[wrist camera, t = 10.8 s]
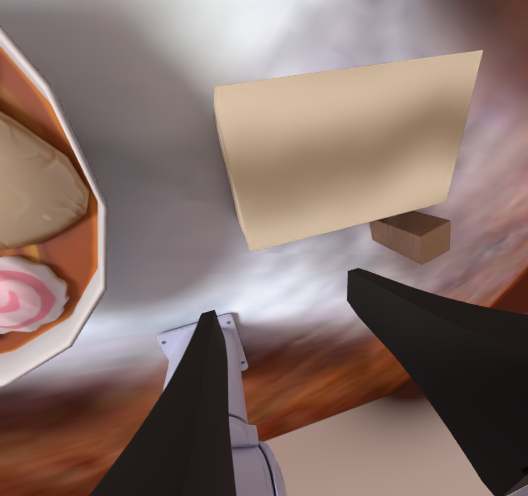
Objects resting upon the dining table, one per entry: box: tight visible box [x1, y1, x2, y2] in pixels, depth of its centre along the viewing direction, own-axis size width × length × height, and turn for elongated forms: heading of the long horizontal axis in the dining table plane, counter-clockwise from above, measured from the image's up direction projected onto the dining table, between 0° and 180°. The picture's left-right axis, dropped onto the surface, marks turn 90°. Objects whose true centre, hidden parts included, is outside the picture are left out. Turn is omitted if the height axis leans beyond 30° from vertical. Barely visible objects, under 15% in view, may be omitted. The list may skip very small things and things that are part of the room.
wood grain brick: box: [369, 211, 450, 265], centre depth 17 cm, size 12×3×6 cm, turn 25°
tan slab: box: [214, 50, 483, 252], centre depth 14 cm, size 8×15×7 cm, turn 100°
